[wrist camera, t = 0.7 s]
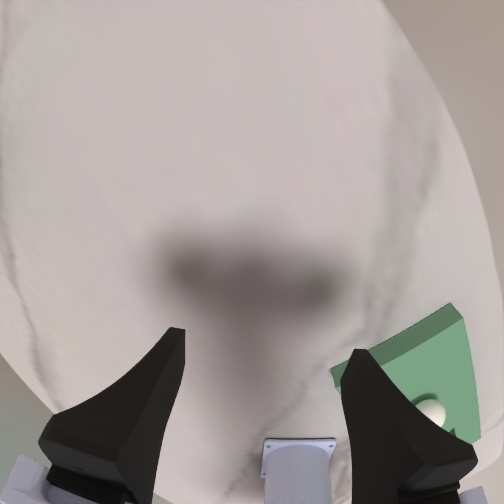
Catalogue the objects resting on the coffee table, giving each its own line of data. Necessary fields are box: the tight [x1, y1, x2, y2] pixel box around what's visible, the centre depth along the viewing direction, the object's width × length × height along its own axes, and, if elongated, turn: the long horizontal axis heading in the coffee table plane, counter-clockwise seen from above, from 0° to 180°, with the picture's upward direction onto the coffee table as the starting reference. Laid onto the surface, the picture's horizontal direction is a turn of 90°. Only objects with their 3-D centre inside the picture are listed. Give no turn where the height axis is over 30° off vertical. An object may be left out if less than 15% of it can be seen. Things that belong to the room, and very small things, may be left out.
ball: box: [416, 399, 446, 427], centre depth 23 cm, size 4×4×4 cm
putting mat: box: [331, 303, 481, 444], centre depth 27 cm, size 24×12×2 cm, turn 33°
